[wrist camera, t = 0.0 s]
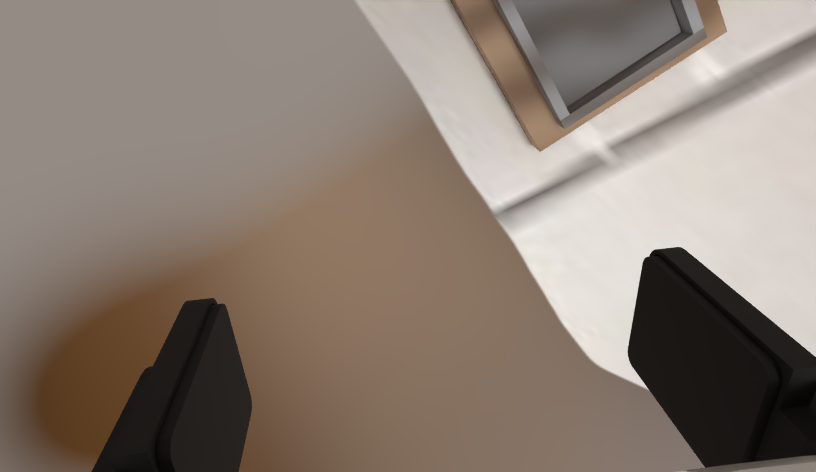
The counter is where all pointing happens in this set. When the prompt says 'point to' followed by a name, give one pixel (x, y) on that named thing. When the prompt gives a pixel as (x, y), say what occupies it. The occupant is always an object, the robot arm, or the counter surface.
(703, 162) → the counter surface
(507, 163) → the counter surface
